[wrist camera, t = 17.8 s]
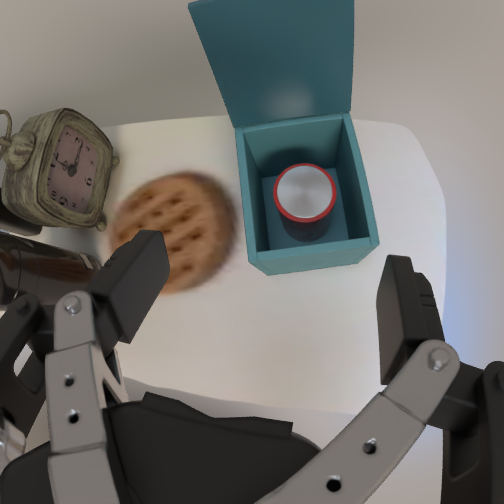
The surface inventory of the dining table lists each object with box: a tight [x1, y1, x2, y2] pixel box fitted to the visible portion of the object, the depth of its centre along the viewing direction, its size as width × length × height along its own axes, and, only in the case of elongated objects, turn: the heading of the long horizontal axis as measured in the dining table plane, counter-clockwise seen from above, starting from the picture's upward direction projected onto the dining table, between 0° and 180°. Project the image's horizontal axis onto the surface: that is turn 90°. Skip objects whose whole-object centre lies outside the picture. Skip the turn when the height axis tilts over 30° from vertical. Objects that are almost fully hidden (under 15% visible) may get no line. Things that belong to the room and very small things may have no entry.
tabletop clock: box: [0, 108, 119, 231], centre depth 36 cm, size 14×9×25 cm, turn 175°
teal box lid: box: [188, 0, 354, 128], centre depth 23 cm, size 14×12×1 cm
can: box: [273, 163, 336, 242], centre depth 36 cm, size 6×6×10 cm
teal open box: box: [235, 112, 380, 275], centre depth 35 cm, size 14×12×13 cm
